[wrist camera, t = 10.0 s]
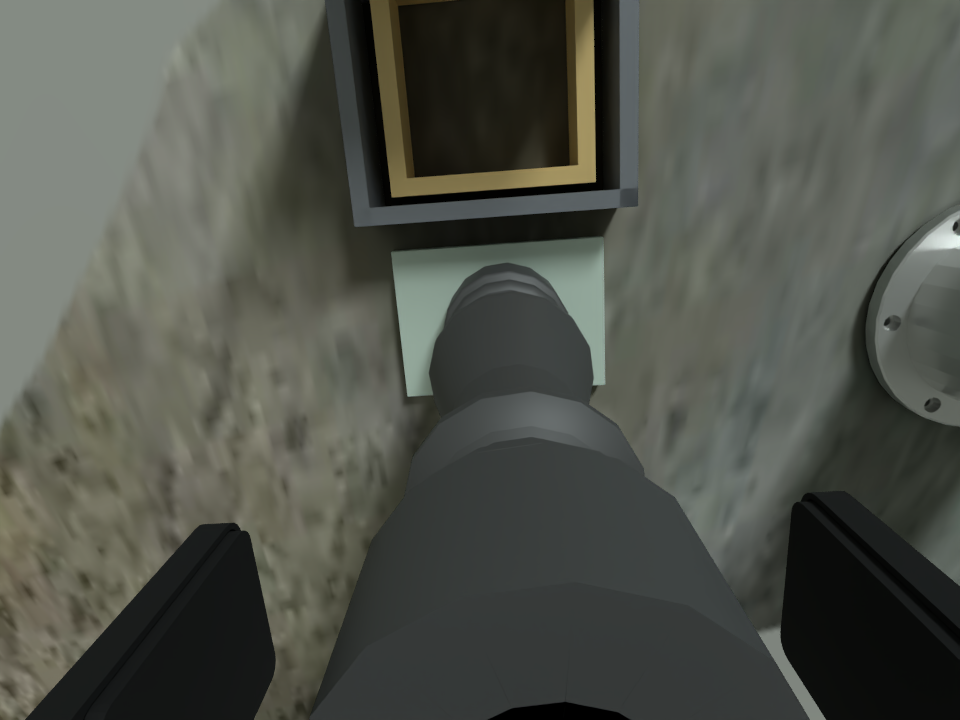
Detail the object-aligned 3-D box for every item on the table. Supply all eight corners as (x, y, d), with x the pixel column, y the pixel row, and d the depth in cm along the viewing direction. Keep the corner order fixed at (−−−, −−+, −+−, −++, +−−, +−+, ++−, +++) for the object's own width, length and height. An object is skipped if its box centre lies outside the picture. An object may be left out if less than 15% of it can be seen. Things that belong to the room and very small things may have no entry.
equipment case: (617, -64, 26) (752, -343, 13) (618, 204, 29) (726, 211, 16) (340, -38, 26) (184, -279, 13) (372, 223, 30) (273, 244, 16)
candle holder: (583, 291, 30) (976, 697, 6) (532, 392, 31) (668, 1043, 7) (475, 243, 29) (396, 460, 5) (429, 348, 31) (202, 896, 7)
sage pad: (600, 235, 30) (603, 237, 29) (601, 378, 32) (605, 384, 31) (394, 250, 30) (390, 252, 29) (410, 390, 32) (407, 396, 31)
